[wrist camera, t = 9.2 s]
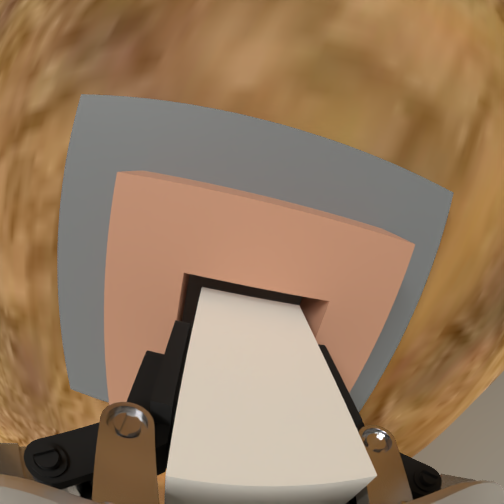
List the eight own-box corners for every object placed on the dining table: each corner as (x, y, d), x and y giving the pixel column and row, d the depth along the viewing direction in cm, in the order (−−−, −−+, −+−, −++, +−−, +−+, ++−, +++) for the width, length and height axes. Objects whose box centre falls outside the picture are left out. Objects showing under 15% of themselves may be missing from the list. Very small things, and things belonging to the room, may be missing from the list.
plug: (299, 305, 12) (377, 475, 4) (273, 378, 13) (304, 533, 5) (201, 286, 11) (165, 475, 3) (188, 364, 12) (164, 528, 4)
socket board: (442, 190, 14) (490, 201, 10) (341, 423, 18) (356, 461, 15) (90, 98, 11) (48, 80, 7) (75, 380, 16) (54, 417, 12)
